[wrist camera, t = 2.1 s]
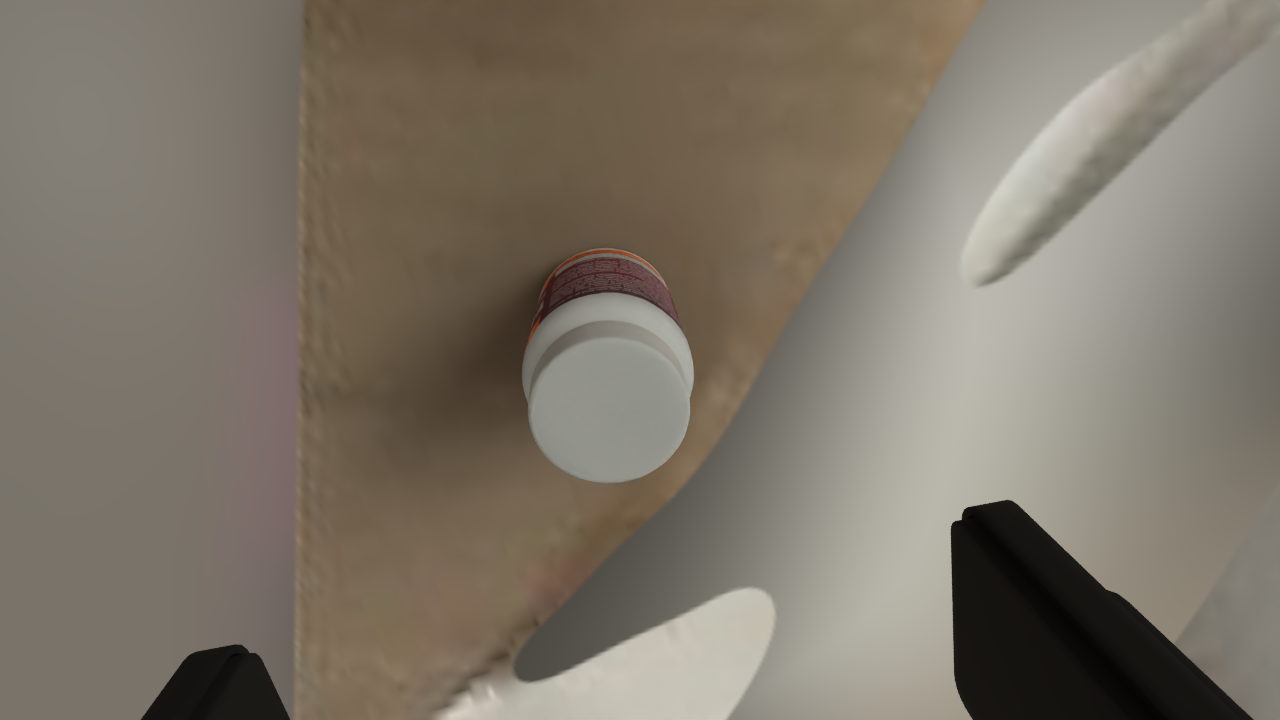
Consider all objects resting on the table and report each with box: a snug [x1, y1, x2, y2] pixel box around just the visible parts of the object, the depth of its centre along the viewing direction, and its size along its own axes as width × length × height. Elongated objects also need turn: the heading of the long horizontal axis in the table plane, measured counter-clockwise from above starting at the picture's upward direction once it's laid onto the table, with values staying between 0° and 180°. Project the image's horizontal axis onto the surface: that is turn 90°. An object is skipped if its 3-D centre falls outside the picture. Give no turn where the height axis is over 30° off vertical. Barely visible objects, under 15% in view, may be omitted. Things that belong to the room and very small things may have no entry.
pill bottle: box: [522, 248, 694, 483], centre depth 21 cm, size 5×5×8 cm
